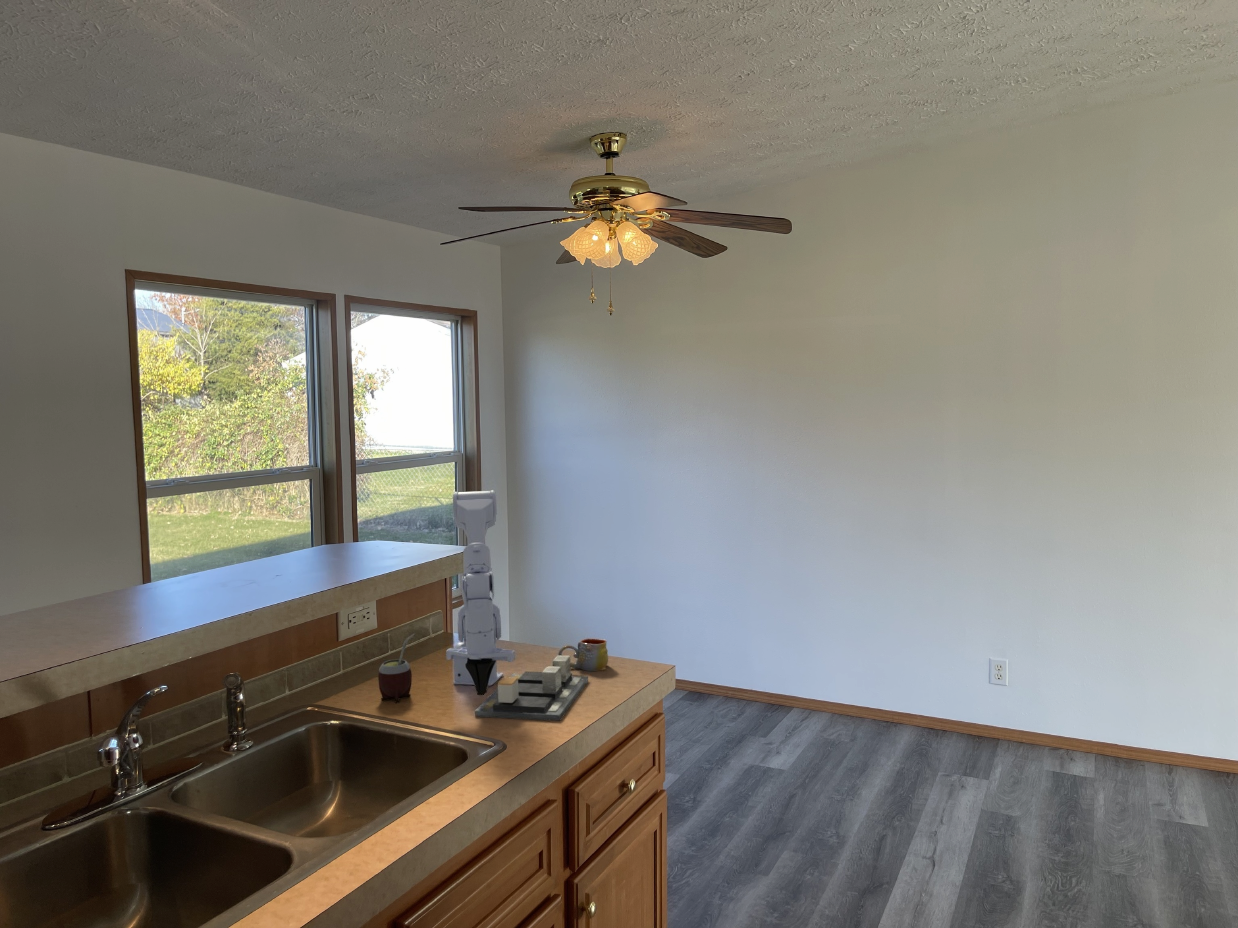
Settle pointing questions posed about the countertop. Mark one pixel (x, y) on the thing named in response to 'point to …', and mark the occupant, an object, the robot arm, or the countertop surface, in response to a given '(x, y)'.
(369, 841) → the countertop surface
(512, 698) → the block
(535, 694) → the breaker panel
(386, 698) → the mate gourd
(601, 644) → the mug
